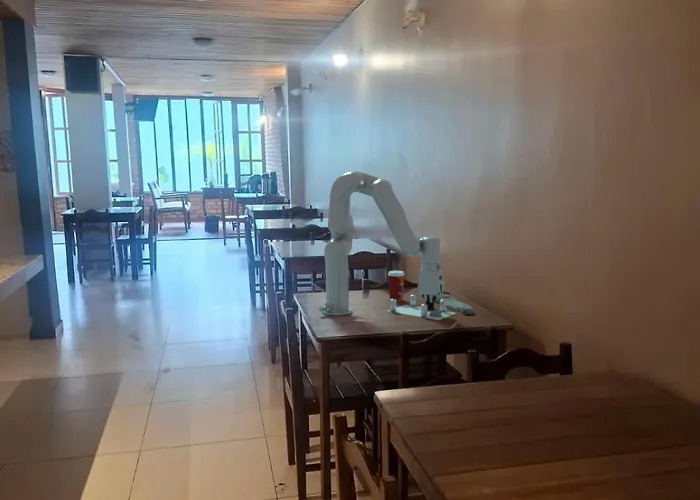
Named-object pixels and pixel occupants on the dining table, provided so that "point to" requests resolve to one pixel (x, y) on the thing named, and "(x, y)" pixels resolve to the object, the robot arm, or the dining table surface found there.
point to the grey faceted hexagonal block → (435, 312)
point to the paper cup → (396, 285)
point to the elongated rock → (456, 304)
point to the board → (417, 312)
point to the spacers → (423, 306)
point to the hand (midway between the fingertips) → (429, 310)
